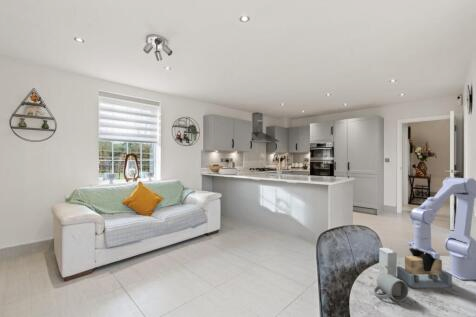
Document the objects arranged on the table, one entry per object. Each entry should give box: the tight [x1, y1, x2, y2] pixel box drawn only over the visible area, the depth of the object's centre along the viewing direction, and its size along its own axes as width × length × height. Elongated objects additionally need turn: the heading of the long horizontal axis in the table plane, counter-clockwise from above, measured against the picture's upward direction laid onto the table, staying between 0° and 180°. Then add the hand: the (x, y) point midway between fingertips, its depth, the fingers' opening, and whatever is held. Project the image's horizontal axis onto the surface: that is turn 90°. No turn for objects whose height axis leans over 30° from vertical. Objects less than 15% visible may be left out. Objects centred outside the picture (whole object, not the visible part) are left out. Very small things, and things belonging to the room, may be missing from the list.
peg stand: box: [396, 266, 453, 289], centre depth 98 cm, size 17×8×5 cm, turn 89°
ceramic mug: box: [373, 273, 409, 302], centre depth 89 cm, size 11×8×8 cm
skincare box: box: [378, 247, 398, 278], centre depth 103 cm, size 6×4×12 cm
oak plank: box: [404, 255, 443, 275], centre depth 98 cm, size 12×4×6 cm, turn 88°
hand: (423, 268), depth 98 cm, fingers closed on oak plank, 4 cm apart
